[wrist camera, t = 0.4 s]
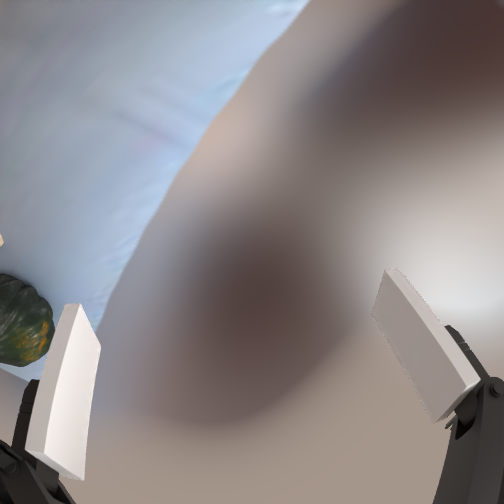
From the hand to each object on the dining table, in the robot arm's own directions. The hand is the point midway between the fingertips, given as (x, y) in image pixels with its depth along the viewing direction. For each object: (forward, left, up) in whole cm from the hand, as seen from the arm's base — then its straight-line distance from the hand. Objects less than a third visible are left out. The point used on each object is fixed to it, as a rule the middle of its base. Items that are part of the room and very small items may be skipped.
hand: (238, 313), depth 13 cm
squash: (+18, -35, -27) cm, 48 cm away
